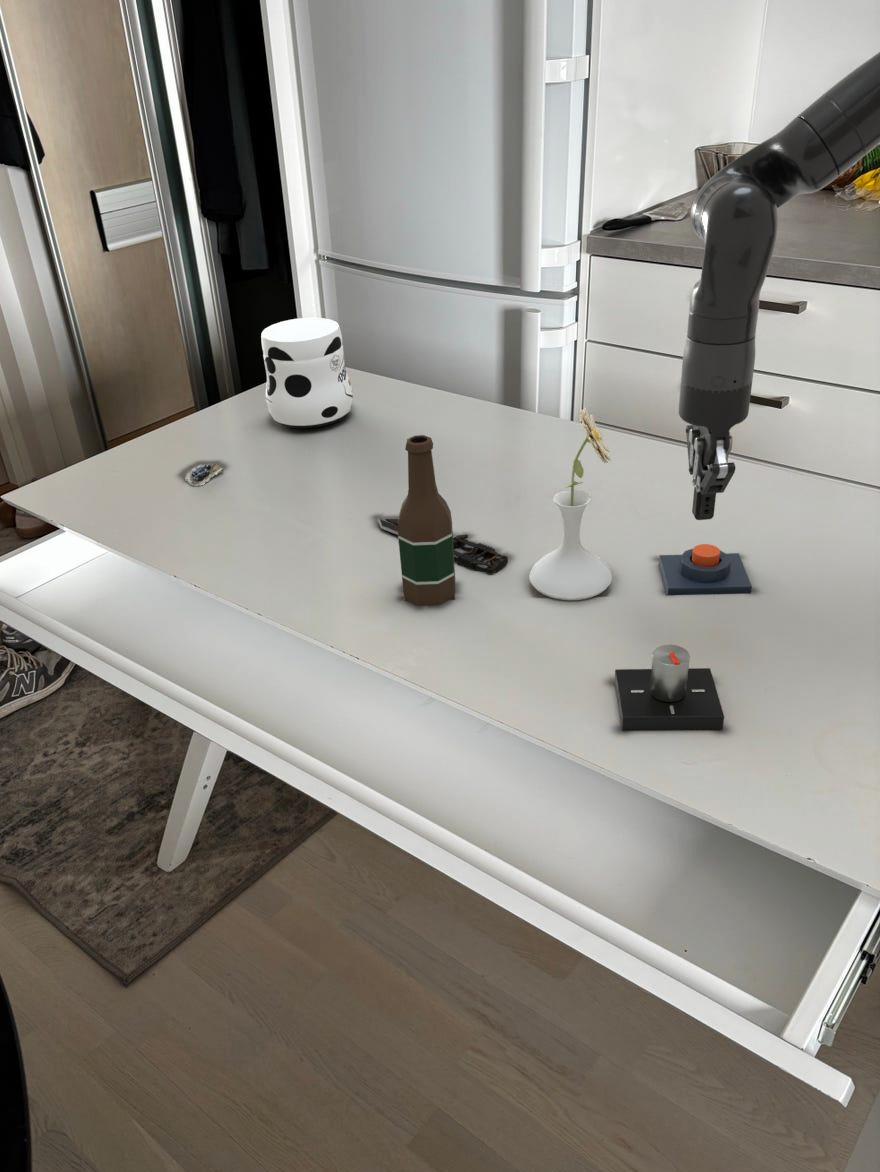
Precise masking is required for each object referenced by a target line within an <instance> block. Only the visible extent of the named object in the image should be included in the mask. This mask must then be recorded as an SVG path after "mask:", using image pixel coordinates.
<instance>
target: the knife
mask: <svg viewBox="0 0 880 1172" xmlns="http://www.w3.org/2000/svg"><path fill="white" fill-rule="evenodd" d="M398 520H399V518H385V519H384V520H383V519H381V518H379V519H377V523H378V525H379V527H380V529H382V530H385V531H387V532H389V533H392V534H394V535H397V536H398ZM468 538H469V535H468V534H461V535H460V534H459V535H456V536H453V547H454V549H455V548H459V549H462V550H464V551H465V552H463V553H462V552H459V551H457V550H454V563H457V565H458V566H461V567H464V568H466V569H468V570H473V571H475V572H478V571H479V572H485V573H487V574H494V573H498V572H500V571H501V570H502V569H503V568H504V567H505V566H506V564H509V563H508V562H509V559H508V558H509V557H508V556H507V555H504V554H503V555H502V554H501V553H498V552H497V551H496V549H495V548H493V547H492V546H489V545H487V544H484V543H481V542H478V543H476V542H474V541H470V540H468ZM466 545H467V546H466ZM469 546H470V547H469ZM466 551H467V552H466ZM480 558H481V559H480ZM483 566H486V567H483Z"/></svg>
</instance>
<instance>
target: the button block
mask: <svg viewBox="0 0 880 1172" xmlns="http://www.w3.org/2000/svg"><path fill="white" fill-rule="evenodd" d="M692 553H693V548H690V549H687V550H685V551H684V552H683V553H682V554H659V557H658V568H659V569H658V570H659V572H660V576H661V580H662V584H663V587H664V591H665V595H666V596H703V595H704V596H707V595H751V594H752V590H753V589H752V588H753V585H752V583H751V581H750V578H749V576H748V573H747V571H746V568H745V566H744V563H743V560H742V558H741V556H740V553H739V552H735V553H734V552H732V553H730V552H729V553H726V552H724V551H722V550H721V549H720V558H719V563H718V565H716V566H713V567H703V566H699V565H695V564H694V563H692Z"/></svg>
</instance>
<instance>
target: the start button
mask: <svg viewBox="0 0 880 1172" xmlns="http://www.w3.org/2000/svg"><path fill="white" fill-rule="evenodd" d="M692 549H693V553H692V563H694V564H695V565H699V566H703V567H713V566H716V565H718V563H719V558H720V550H721V549H720V548H719V547H718V546H716V545H714V544H710V543H700V544H697V545H695V546H694V547H693V548H692Z"/></svg>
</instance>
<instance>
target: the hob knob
mask: <svg viewBox="0 0 880 1172" xmlns="http://www.w3.org/2000/svg"><path fill="white" fill-rule="evenodd" d="M651 659H652V660H651V661H652V662H651V669H652V670H651V682H650V693H651V695H652V696H653V697H654V698H656V699H658V700H660V701H663V702H676V701H679V700H681V699H683V698H684V697H685V695H686V688H687V679H688V669H689V668H690V661H691V660H690V659H691V655H690V653H689V651H688V650H687V649H686V648H684V647H683V646H680V645H678V644H677V645H676V644H662V645H659V646H658V647H656V648H655V649H654V650H653V652H652V658H651Z"/></svg>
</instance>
